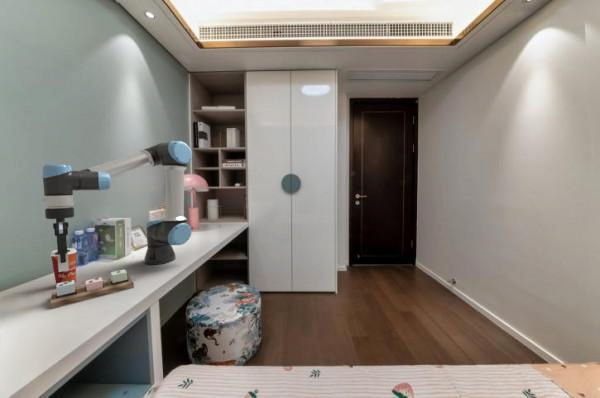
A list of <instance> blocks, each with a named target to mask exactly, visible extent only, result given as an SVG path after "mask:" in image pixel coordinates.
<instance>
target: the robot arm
mask: <svg viewBox="0 0 600 398" xmlns="http://www.w3.org/2000/svg"><path fill="white" fill-rule="evenodd" d="M192 157H193V152H192V149H191V147H189V145H188V144H187V143H186V142H185V141H181V140H171V141H168V142H160V143H158V144H155V145H152V146H149V147H147V148H144V149H141V150H140V152H138V153H134V154H131V155H128V156H124V157H121V158H118V159H115V160H111V161H108V162H105V163H102V164H98V165H94V166H92V167H89V168H85V169H80V170H73V169H72V166H71V165H68V164H59V163H58V164H56V163H51V164H45V165H43V166H42V177H41V178H42V184H43V195H44V198H41V201H42V202H44V207H45V209H44V214H45V219H47V220H55V222H53V223H52V226H53V227H52V229H53V230H54V236H55V237H56V244H57V245H56V246H57V248H56V250H58V251H57V253H55V255H58V269H59V272H62V271H68V270H69V264H68V252H70V250H67V248H68V243H67V235H68V234H69V232H68V231H69V230H68V228H69V221H66V219H71V218H73V217H75V208H74V207H73V206H74V205H75V203H74V193H73V192H75V191H77V192H78V191H107V190H109V189H110V188H111V186H112V180H113V179H117V178H119V177H121V176H124V175H127V174H129V173H133V172H136V171H139V170H142V169H145V168H153V167H156V166H162V168H163V169H164V170H165V216H164V217H163V218H161V219H160V218H159V219H154V220H148V221H147V222H146V226H145V231H146V245H147V249H146V251H145V256H144V261H143V262H144V264H145V265H148V266H149V265H151V266H152V265H161V264H162V265H163V264H167V263H170V262H173V261H175V260H176V252H175V250H174V248H173V246H182V245H185V244H186V243H187V242H188V241H189V240H190V238H191V237H192V227H191V226H190V225H189V224H188V219H187V217H186V216H185V171H186V170H187V169H188V163H189V162H190V161H192Z"/></svg>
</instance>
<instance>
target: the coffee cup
mask: <svg viewBox="0 0 600 398" xmlns="http://www.w3.org/2000/svg"><path fill="white" fill-rule="evenodd" d="M67 250H70V252H68V264H69V270H68V271H62V272H59V269H58V255H55V253H57V251H58V250H57V249H55V250H53V251H51V253H50V255H49V256H50V257H51V261H52V268H53V274H54V280H55V281H54V282H55V285H56V286H55V287H57V283H62V282H67V281H70V280H74V282H75V284H76V282H77V252H78V250H77V249H76V248H75V247H67Z"/></svg>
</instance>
